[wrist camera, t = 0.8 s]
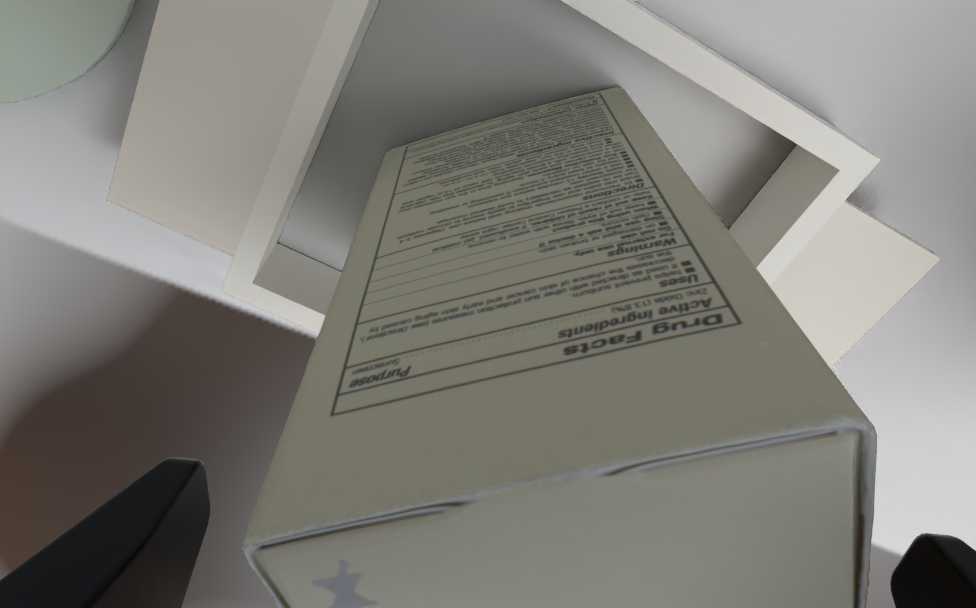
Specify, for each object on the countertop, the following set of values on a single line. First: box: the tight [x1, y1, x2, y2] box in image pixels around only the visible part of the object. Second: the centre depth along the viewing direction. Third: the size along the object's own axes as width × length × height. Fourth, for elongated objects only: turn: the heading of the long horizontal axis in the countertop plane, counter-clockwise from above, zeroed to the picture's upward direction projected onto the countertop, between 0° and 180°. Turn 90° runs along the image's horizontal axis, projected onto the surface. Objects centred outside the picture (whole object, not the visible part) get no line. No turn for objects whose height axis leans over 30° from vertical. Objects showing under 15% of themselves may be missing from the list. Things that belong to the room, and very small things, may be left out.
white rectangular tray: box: [107, 0, 941, 368], centre depth 17 cm, size 18×10×2 cm, turn 62°
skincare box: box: [242, 87, 877, 608], centre depth 12 cm, size 6×4×12 cm
